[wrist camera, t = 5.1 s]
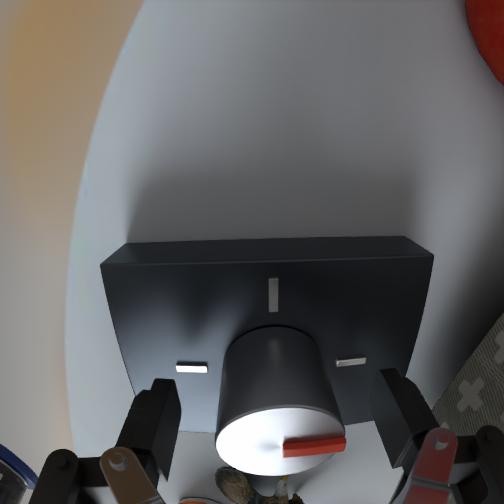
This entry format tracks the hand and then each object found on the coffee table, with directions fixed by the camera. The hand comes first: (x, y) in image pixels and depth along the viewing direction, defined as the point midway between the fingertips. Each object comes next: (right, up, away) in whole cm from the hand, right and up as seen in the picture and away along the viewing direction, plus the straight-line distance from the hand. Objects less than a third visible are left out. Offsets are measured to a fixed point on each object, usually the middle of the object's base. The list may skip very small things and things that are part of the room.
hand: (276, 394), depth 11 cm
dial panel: (0, +1, +5) cm, 5 cm away
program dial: (0, 0, +2) cm, 2 cm away
